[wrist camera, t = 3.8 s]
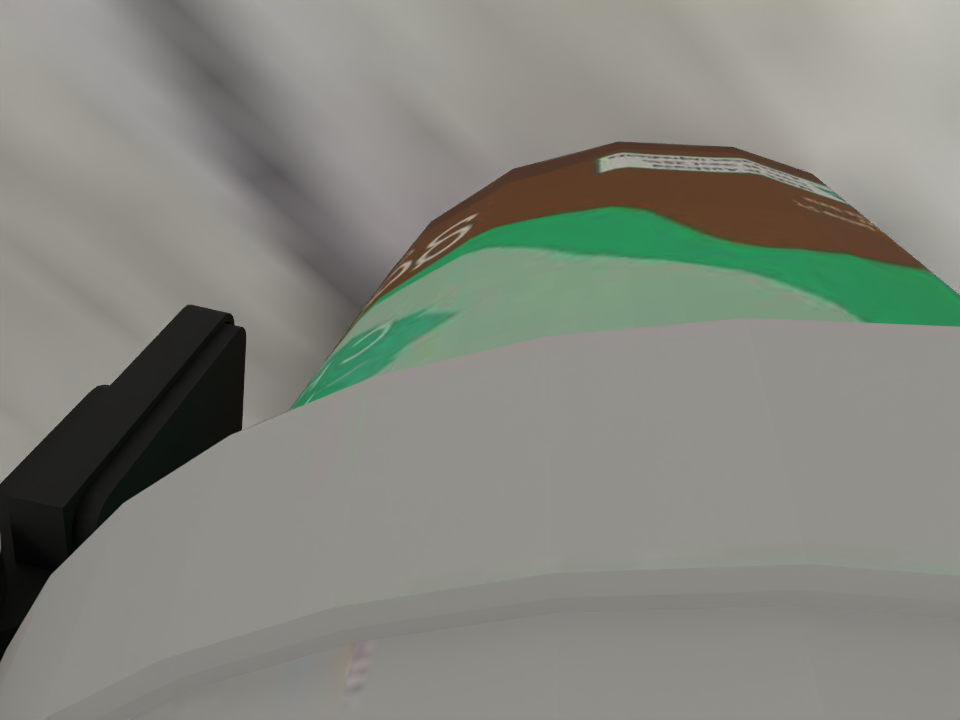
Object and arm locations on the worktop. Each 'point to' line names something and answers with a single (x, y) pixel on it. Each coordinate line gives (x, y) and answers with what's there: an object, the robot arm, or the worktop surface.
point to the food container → (563, 481)
